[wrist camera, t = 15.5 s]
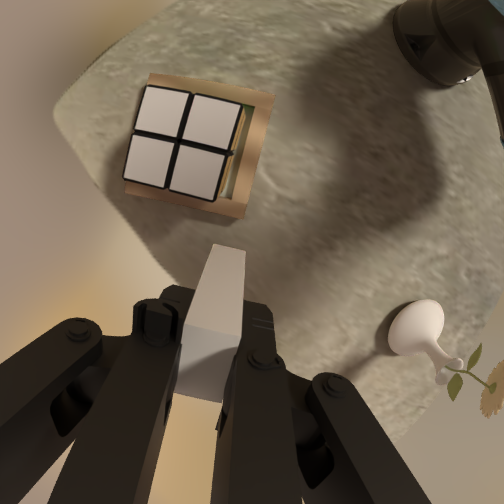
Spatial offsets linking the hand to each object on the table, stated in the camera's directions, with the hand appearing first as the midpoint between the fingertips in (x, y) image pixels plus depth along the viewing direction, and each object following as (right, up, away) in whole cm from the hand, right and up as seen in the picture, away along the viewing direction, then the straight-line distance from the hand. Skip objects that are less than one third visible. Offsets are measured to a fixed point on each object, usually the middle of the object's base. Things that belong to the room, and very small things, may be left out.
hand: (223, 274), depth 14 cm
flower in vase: (+30, -11, +32) cm, 45 cm away
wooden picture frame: (-6, +15, +23) cm, 28 cm away
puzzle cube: (-6, +15, +22) cm, 27 cm away
